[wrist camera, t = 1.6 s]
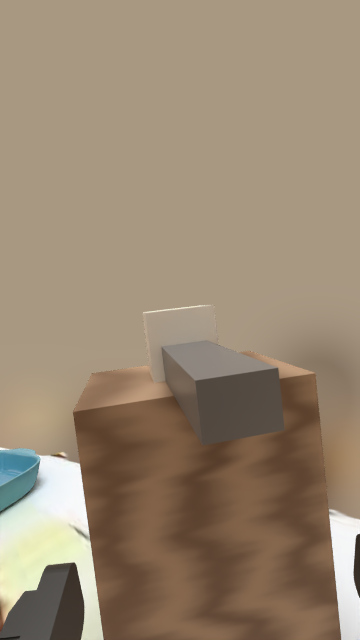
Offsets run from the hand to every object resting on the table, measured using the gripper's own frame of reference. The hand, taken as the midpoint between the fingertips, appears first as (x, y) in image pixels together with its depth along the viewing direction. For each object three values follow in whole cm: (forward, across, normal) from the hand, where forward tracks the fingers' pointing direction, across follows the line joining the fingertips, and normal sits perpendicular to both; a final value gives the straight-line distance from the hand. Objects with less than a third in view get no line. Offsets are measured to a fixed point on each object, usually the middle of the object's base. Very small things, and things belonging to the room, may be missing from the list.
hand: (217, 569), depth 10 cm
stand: (+15, -1, +35) cm, 38 cm away
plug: (+15, -1, +2) cm, 16 cm away
